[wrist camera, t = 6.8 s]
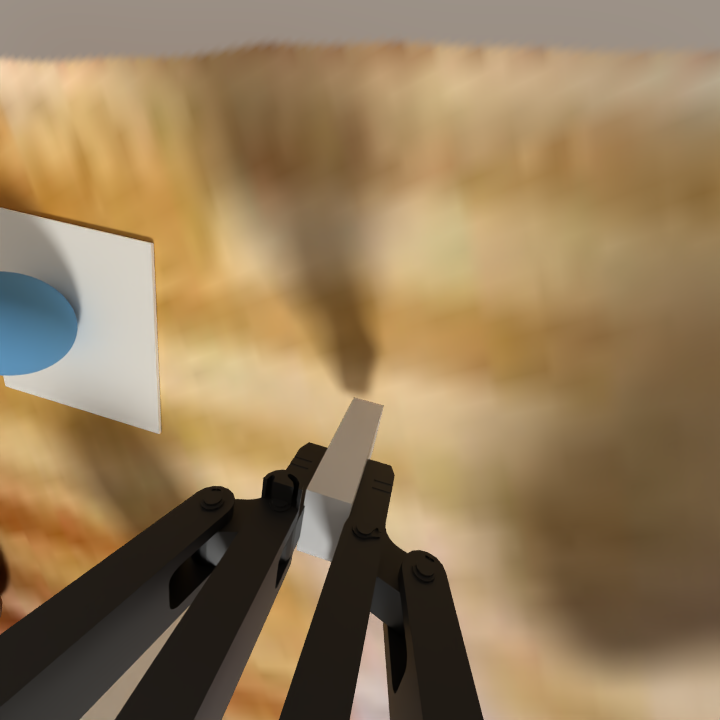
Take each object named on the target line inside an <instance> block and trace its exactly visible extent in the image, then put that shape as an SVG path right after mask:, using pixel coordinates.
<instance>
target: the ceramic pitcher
mask: <svg viewBox="0 0 720 720" xmlns="http://www.w3.org/2000/svg"><path fill="white" fill-rule="evenodd" d="M1 612H2V599H1V596H0V617H1Z"/></svg>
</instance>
